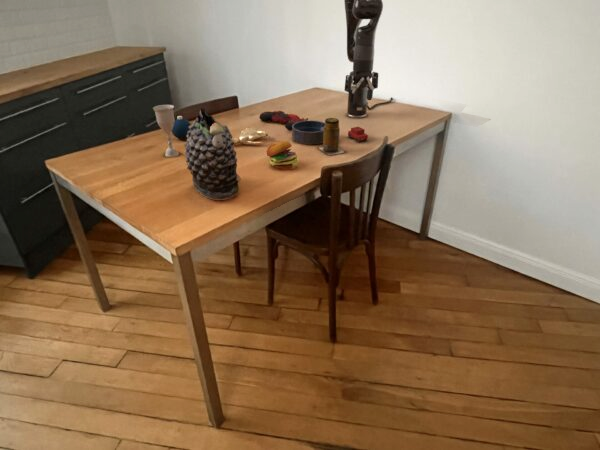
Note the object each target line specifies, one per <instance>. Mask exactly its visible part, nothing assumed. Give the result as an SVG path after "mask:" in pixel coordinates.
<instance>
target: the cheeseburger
mask: <svg viewBox="0 0 600 450" xmlns="http://www.w3.org/2000/svg"><path fill="white" fill-rule="evenodd" d="M291 147H292V144H291V143H290V142H289V141H288V140H282V141H278V142H274V143H271V144H269V146H268V147H267V150H266V156H267V157H269V164H270V165H271V167H272V168H273V169H275V170H290V169H292V170H294V169H297V167H298V154H297V152H295V151H291V150H292V148H291Z"/></svg>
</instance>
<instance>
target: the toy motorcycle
mask: <svg viewBox="0 0 600 450" xmlns="http://www.w3.org/2000/svg"><path fill="white" fill-rule="evenodd" d="M259 119H260V121H262V122H265V123H266V122H267V123H268V122H275V123H277V124H282V125H284V127H285V129H286V130H289V131H292V125H293V124H294V123H296V122H300V121H309V117H307V118H304V117H303V118H301V117H300V116H298V115H297V114H293V113H285V112H284V111H282V110H274V111H264V112H261V113H260V114H259Z"/></svg>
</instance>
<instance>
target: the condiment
mask: <svg viewBox="0 0 600 450" xmlns="http://www.w3.org/2000/svg"><path fill="white" fill-rule="evenodd" d="M324 123H325V126H324V137H323V143H322V146H321V147H318V149H319V151H321V152H323V153H325V154H326V155H328V156H333V155H339V154H344V153H345V151H344V150H343V149H341V148H340V147H339V146H340V145H339V144H340V131H341V130H340V120H339V118H337V117H328V118H326V119H325V120H324Z"/></svg>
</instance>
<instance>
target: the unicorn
mask: <svg viewBox="0 0 600 450" xmlns="http://www.w3.org/2000/svg"><path fill="white" fill-rule="evenodd" d="M263 138H266V140H269V139H271V135H270V133H269V132H265V131H263V130H258V128H257V127H248V128H247V127H245V129H243V130H242V131H240V135H238V136H237V137H236V136H235V137H234V138H232V139H233V146H235V145H239V144H241V145H247V146H248V145H249V146H259V145H263V141H256V140H257V139H263Z"/></svg>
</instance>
